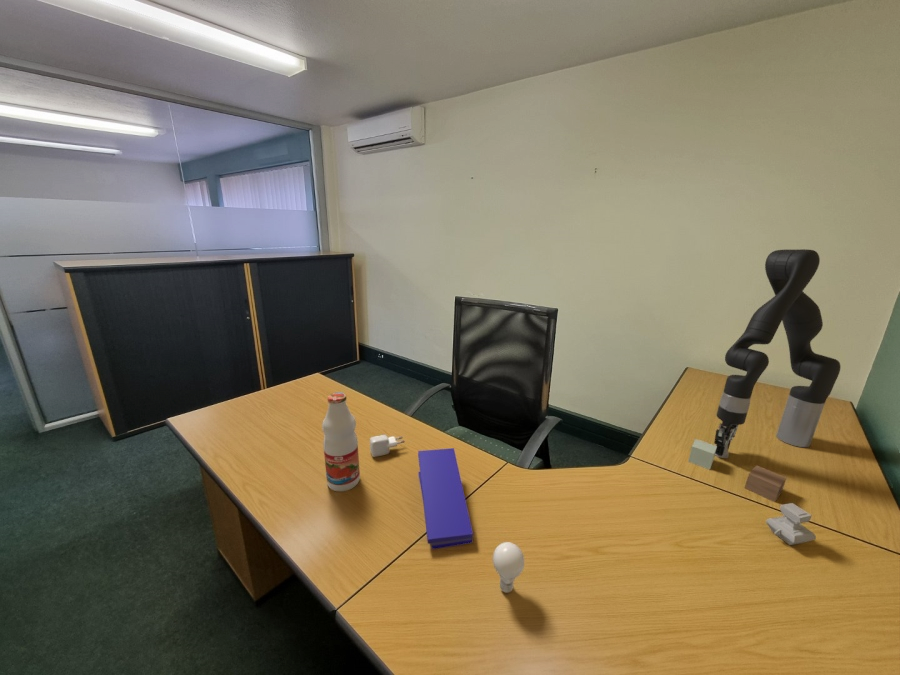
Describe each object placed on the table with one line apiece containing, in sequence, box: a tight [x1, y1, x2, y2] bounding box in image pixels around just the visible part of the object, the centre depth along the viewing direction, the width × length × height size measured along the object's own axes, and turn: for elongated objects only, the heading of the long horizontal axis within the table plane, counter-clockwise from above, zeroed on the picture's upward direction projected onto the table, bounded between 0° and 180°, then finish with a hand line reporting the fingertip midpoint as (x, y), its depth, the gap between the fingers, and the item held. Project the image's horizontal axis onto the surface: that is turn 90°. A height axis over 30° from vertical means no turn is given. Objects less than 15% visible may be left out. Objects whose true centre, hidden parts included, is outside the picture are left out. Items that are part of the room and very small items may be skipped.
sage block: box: [687, 438, 717, 471], centre depth 118 cm, size 6×6×6 cm
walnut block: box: [744, 464, 787, 503], centre depth 105 cm, size 7×7×5 cm
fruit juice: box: [321, 392, 361, 492], centre depth 102 cm, size 9×9×28 cm
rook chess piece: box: [715, 436, 731, 459], centre depth 121 cm, size 4×4×8 cm
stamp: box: [765, 502, 817, 546], centre depth 88 cm, size 9×7×8 cm
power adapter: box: [369, 434, 405, 458], centre depth 120 cm, size 11×5×6 cm, turn 113°
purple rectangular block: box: [417, 447, 474, 550], centre depth 96 cm, size 12×28×10 cm, turn 11°
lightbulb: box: [492, 541, 525, 594], centre depth 74 cm, size 6×6×11 cm
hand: (721, 451), depth 122 cm, fingers open, 4 cm apart
